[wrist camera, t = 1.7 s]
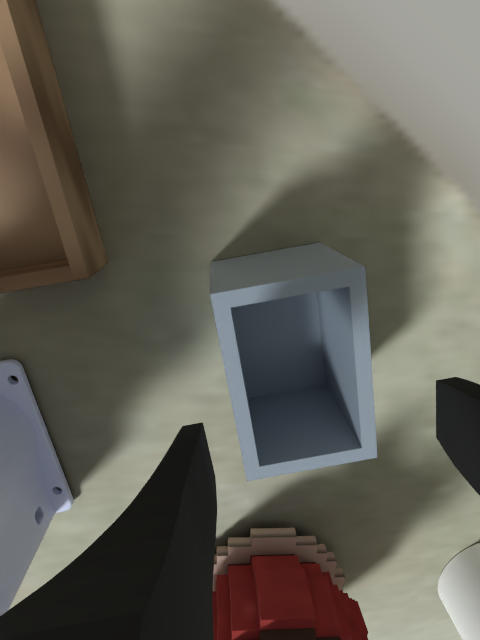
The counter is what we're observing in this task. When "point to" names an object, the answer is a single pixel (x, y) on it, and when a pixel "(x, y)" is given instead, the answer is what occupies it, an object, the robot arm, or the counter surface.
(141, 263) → the counter surface
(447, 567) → the cylindrical container
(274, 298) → the grey crate
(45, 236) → the walnut crate
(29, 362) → the counter surface
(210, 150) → the counter surface
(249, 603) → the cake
